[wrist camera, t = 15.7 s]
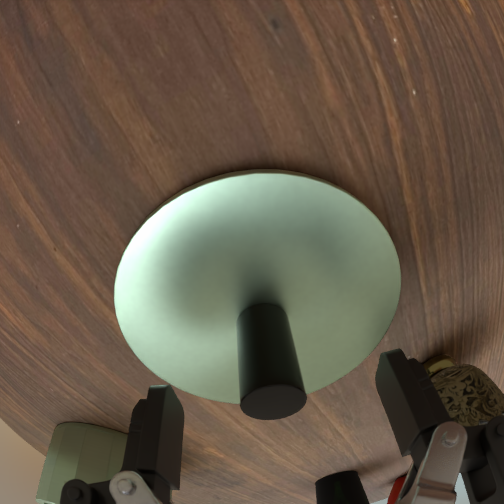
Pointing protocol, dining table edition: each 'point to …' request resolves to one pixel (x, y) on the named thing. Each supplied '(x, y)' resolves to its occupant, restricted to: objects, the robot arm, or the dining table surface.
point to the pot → (80, 458)
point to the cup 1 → (341, 489)
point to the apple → (396, 490)
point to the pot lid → (257, 288)
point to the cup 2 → (465, 391)
